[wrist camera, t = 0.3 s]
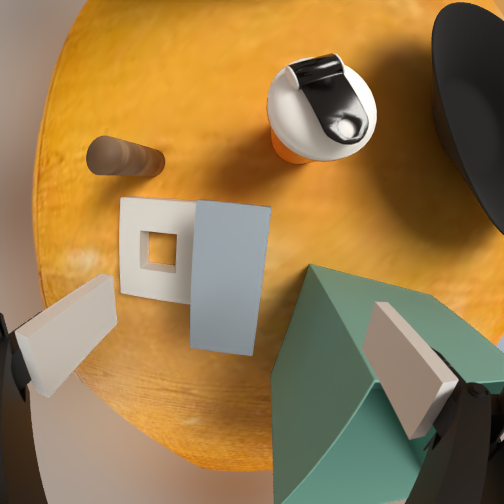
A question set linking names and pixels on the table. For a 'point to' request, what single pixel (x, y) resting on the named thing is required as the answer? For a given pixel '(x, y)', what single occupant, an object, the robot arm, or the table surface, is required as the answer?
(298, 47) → the table surface
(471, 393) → the robot arm
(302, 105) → the shaker bottle
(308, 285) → the box
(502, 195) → the bowl
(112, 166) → the peg
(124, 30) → the table surface
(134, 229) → the socket station
